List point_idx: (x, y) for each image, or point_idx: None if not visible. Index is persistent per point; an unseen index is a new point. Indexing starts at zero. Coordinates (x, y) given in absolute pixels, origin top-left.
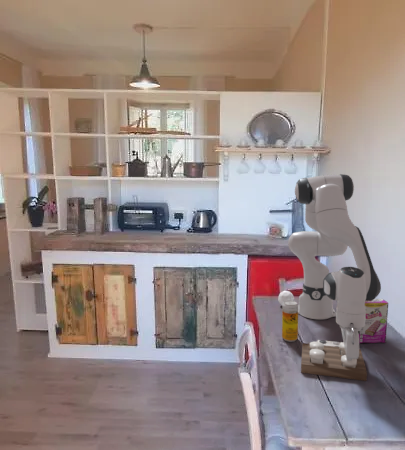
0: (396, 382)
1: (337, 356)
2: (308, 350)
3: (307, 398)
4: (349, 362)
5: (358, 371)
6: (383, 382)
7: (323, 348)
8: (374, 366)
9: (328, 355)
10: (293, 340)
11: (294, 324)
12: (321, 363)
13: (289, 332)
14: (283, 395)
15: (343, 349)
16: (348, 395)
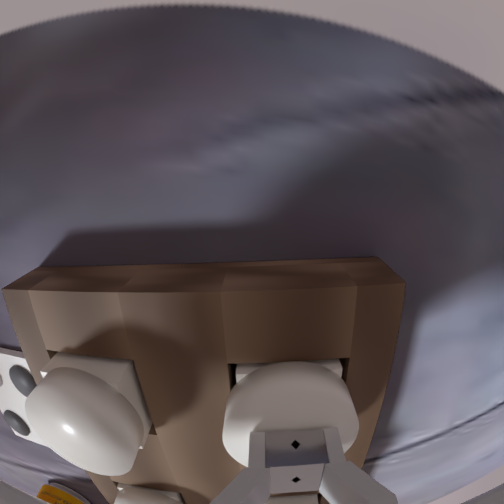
0: (334, 44)
1: (191, 451)
2: None
3: (487, 446)
4: (356, 430)
5: (393, 342)
6: (365, 135)
7: (152, 501)
8: (122, 175)
9: (201, 481)
10: (81, 500)
11: None
12: (315, 498)
13: None
14: (461, 486)
15: (136, 454)
16: (500, 346)
